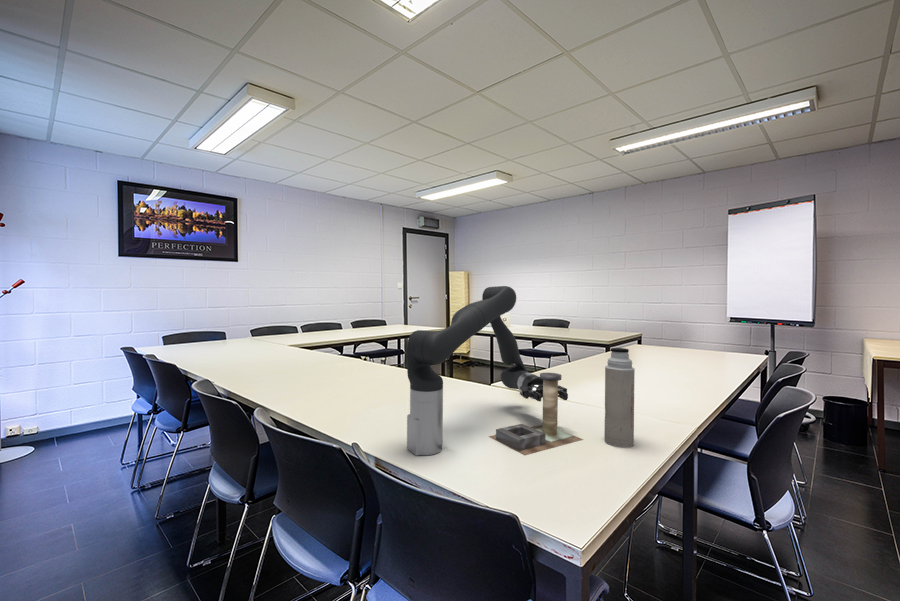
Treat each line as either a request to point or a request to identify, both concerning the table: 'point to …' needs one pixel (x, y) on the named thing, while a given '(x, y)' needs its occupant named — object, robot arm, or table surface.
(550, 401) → the wheel post
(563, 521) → the table surface
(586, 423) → the table surface
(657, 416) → the table surface
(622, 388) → the thermos bottle
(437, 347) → the robot arm
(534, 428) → the board
